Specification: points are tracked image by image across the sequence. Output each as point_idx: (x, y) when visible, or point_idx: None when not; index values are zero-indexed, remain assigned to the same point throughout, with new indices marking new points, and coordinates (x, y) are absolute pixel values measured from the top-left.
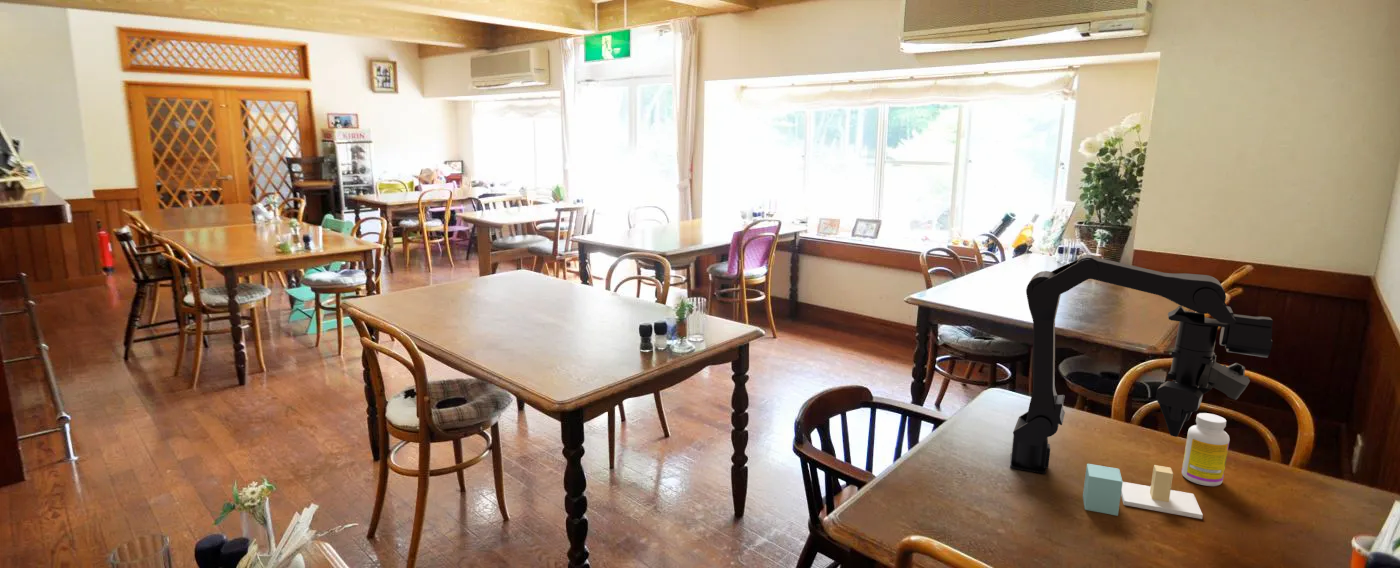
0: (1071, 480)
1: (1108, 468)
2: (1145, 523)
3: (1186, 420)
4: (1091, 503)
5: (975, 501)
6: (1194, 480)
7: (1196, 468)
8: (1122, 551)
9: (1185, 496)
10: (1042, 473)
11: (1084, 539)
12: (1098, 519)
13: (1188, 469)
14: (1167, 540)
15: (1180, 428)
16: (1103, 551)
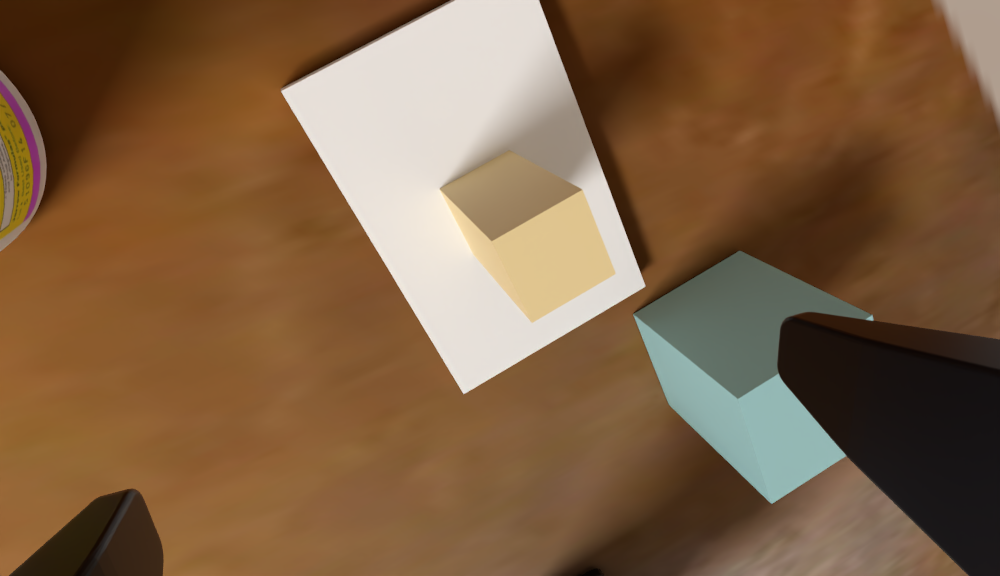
0: (568, 496)
1: (766, 427)
2: (733, 151)
3: (143, 504)
4: None
5: (895, 533)
6: (43, 155)
7: (10, 174)
8: (969, 124)
9: (364, 111)
10: (602, 572)
11: (952, 242)
12: (805, 280)
13: (16, 222)
14: (817, 30)
15: (960, 335)
16: (993, 168)
